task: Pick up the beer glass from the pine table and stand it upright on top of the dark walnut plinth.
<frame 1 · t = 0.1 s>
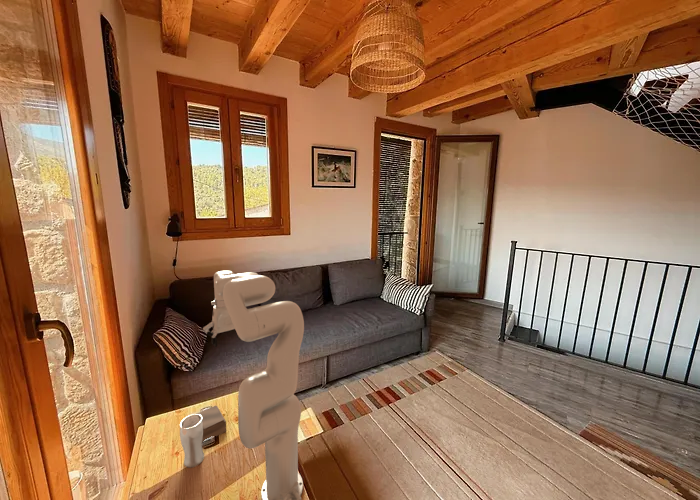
hand: (227, 341, 116), 31 cm above the table, fingers open, 9 cm apart
beer glass: (194, 460, 98), on the table
plinth: (207, 429, 110), on the table
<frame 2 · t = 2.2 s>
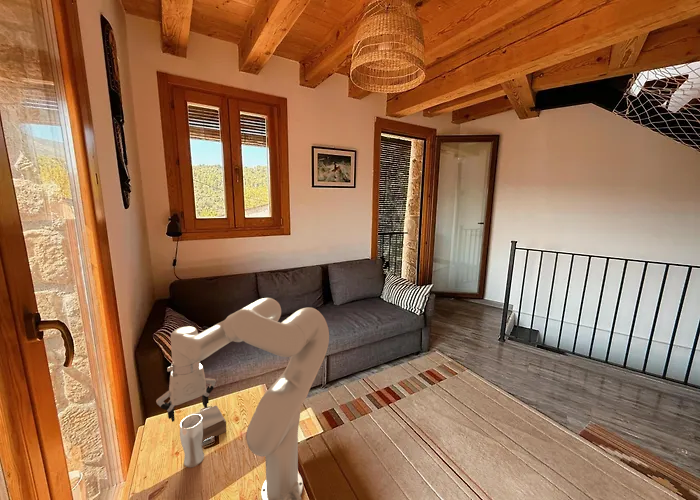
hand: (189, 412, 95), 18 cm above the table, fingers open, 9 cm apart
nothing on the table moved.
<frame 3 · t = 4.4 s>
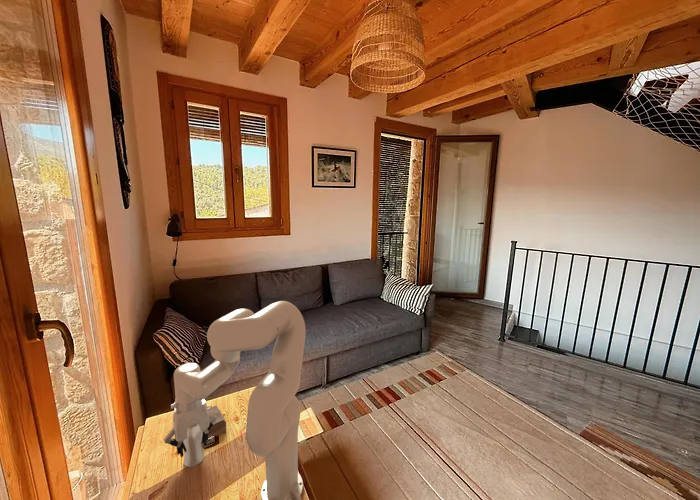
hand: (193, 447, 97), 5 cm above the table, fingers closed on beer glass, 6 cm apart
beer glass: (194, 460, 98), on the table, touching gripper
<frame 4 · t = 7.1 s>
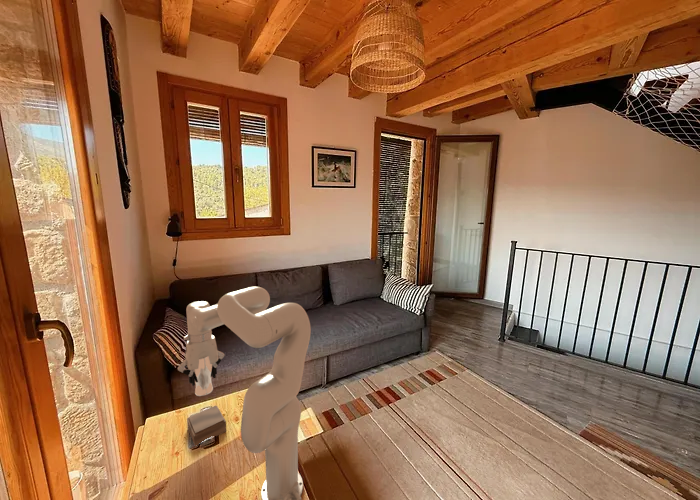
hand: (203, 379, 106), 22 cm above the table, fingers closed on beer glass, 6 cm apart
beer glass: (204, 391, 107), point 17 cm above the table, touching gripper
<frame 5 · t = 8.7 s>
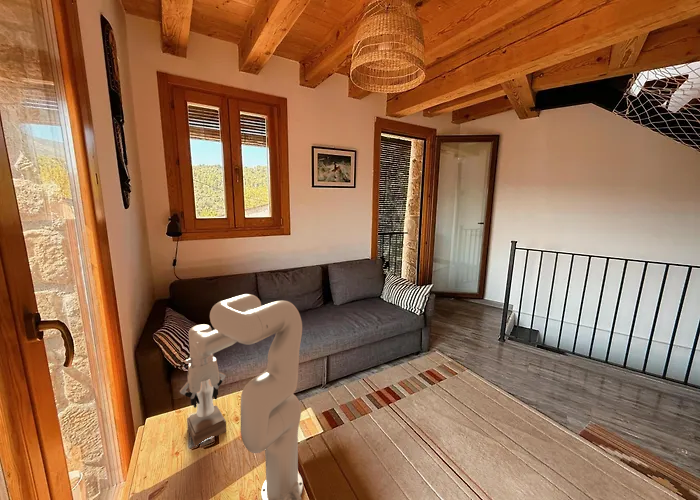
hand: (204, 401, 108), 12 cm above the table, fingers closed on beer glass, 6 cm apart
beer glass: (205, 412, 109), point 8 cm above the table, touching gripper
when the fingers open (10 cm above the table, at t = 10.1 s): beer glass stays where it is, resting on plinth.
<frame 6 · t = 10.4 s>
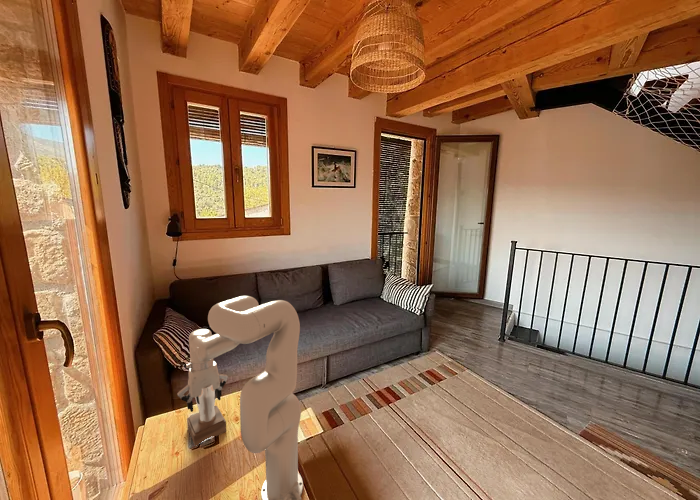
hand: (205, 403, 108), 11 cm above the table, fingers open, 9 cm apart
beer glass: (207, 418, 110), point 5 cm above the table, touching plinth
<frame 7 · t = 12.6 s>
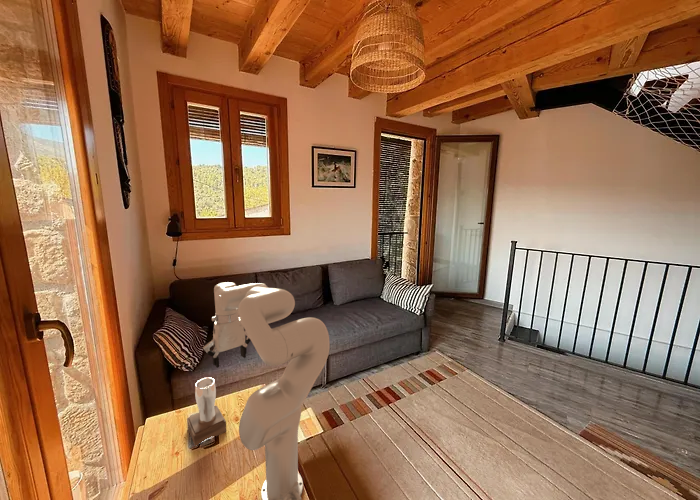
hand: (230, 361, 105), 30 cm above the table, fingers open, 9 cm apart
nothing on the table moved.
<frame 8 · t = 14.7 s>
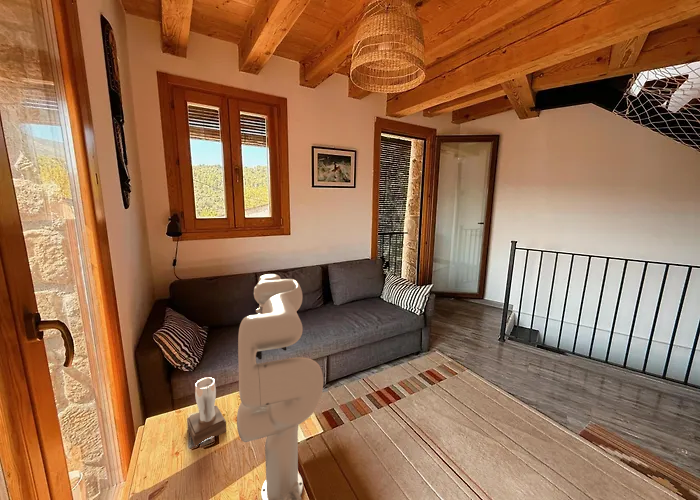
hand: (271, 353, 104), 33 cm above the table, fingers open, 9 cm apart
nothing on the table moved.
at the end: beer glass inside the target area on the plinth (0.4 cm from its centre), point 4.8 cm above the plinth's base; beer glass tilted 0°; the gripper is holding nothing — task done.
